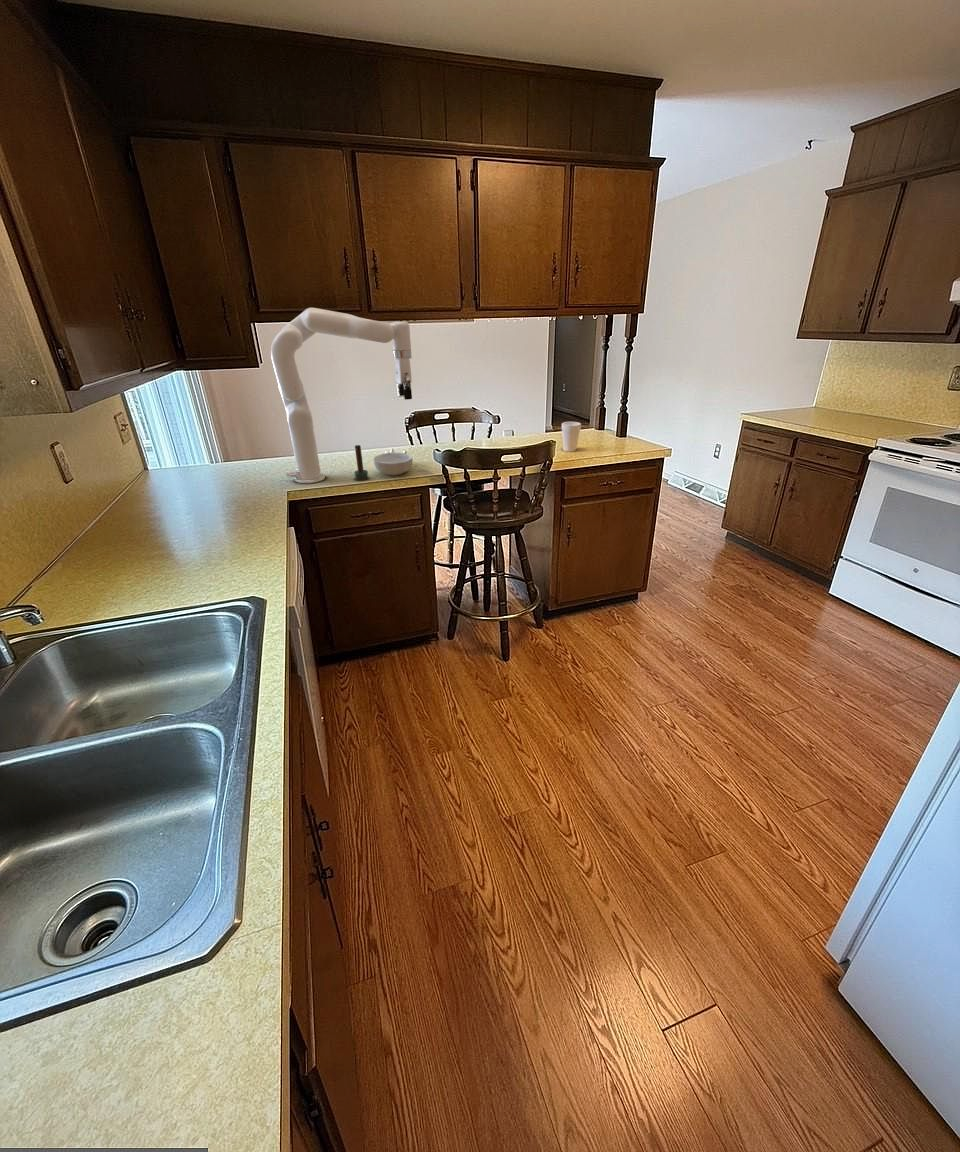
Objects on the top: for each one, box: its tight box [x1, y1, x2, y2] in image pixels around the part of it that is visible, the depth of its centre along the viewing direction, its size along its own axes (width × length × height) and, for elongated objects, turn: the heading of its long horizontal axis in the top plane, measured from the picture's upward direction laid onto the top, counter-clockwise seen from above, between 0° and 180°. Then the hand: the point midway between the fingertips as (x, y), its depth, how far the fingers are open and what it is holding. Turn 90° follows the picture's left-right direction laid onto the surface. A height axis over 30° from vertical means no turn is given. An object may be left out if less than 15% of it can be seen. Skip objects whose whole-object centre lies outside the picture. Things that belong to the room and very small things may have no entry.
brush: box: [353, 444, 369, 482], centre depth 221 cm, size 6×6×14 cm
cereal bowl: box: [373, 452, 413, 476], centre depth 229 cm, size 17×17×7 cm
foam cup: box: [561, 421, 582, 452], centre depth 259 cm, size 10×9×13 cm
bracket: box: [384, 447, 408, 454], centre depth 244 cm, size 13×7×8 cm, turn 20°
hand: (405, 397), depth 223 cm, fingers open, 9 cm apart
